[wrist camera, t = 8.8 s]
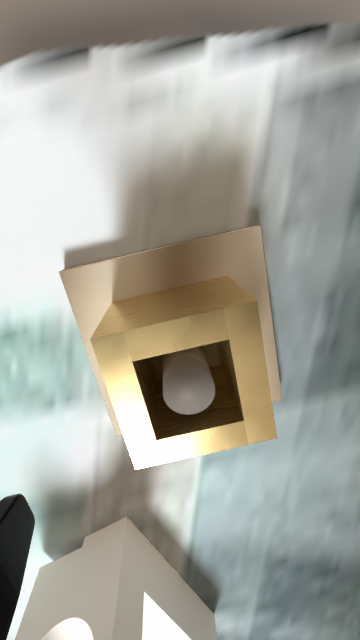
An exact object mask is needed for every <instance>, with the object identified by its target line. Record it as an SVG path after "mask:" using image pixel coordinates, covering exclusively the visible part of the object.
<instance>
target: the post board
mask: <svg viewBox="0 0 360 640" xmlns="http://www.w3.org/2000/svg"><path fill="white" fill-rule="evenodd" d="M59 273H60V276H61V279H62V282H63V285H64V287H65V290H66V293H67V296H68V299H69V302H70V305H71V308H72V310H73V313H74V316H75V319H76V322H77V325H78V328H79V331H80V333H81V336H82V339H83V342H84V345H85V348H86V351H87V354H88V356H89V359H90V362H91V365H92V368H93V371H94V374H95V377H96V379H97V382H98V385H99V388H100V391H101V394H102V397H103V399H104V402H105V405H106V408H107V411H108V414H109V417H110V420H111V422H112V425H113V428H114V431H115V434H116V437H117V436H121V435H123V434H122V431H121V428H120V425H119V422H118V419H117V416H116V413H115V410H114V408H113V405H112V402H111V399H110V396H109V393H108V390H107V387H106V384H105V382H104V379H103V376H102V373H101V370H100V367H99V364H98V361H97V358H96V355H95V353H94V350H93V347H92V344H91V341H90V338H91V336H92V335H93V333H94V331H95V330H96V328H97V326H98V325H99V323H100V321H101V320H102V318H103V316H104V315H105V313H106V311H107V309H108V308H109V306H110V304H111V303H112V302H115V301H119V300H123V299H128V298H132V297H136V296H141V295H145V294H149V293H154V292H158V291H162V290H167V289H171V288H175V287H179V286H184V285H188V284H192V283H197V282H201V281H205V280H210V279H214V278H218V277H223V276H227V275H228V276H229V277H230V278H231V279H232V280H234V281H235V282H236V283H237V284H238V285H239V286H241V287H242V288H243V289H244V290H245V291H246V292H248V293H249V294H250V295H251V296H252V297H254V298H255V299H256V300H257V303H258V310H259V317H260V324H261V331H262V338H263V345H264V352H265V358H266V365H267V372H268V379H269V386H270V393H271V400H272V402H275V401H280V400H282V395H281V387H280V379H279V371H278V363H277V355H276V347H275V339H274V331H273V323H272V314H271V306H270V298H269V290H268V282H267V274H266V266H265V258H264V250H263V242H262V234H261V226H256V225H255V226H251V227H247V228H242V229H238V230H234V231H229V232H225V233H220V234H216V235H212V236H207V237H203V238H198V239H194V240H190V241H185V242H181V243H177V244H172V245H168V246H163V247H159V248H155V249H150V250H146V251H142V252H137V253H133V254H128V255H124V256H120V257H115V258H111V259H106V260H102V261H98V262H93V263H89V264H85V265H80V266H76V267H71V268H67V269H63V270H61V271H60V272H59ZM152 360H153V364H154V367H155V371H156V374H157V378H162V377H163V398H164V401H165V402H166V404H167V405H168V407H169V408H170V409H172V410H173V411H175V412H177V413H180V414H186V415H190V414H196V413H199V412H201V411H203V410H205V409H206V408H207V407H208V406H209V405H210V404H211V403H212V401H213V399H214V396H215V385H214V382H213V379H212V376H211V373H210V370H209V367H210V366H215V365H219V364H221V362H220V357H219V352H218V347H217V342H216V343H211V344H207V345H203V346H198V347H194V348H189V349H185V350H181V351H176V352H172V353H168V354H163V355H159V356H154V357H152Z"/></svg>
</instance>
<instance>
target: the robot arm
mask: <svg viewBox="0 0 360 640" xmlns="http://www.w3.org/2000/svg"><path fill="white" fill-rule="evenodd" d="M34 525H35V519H34V515H33V513H32V511H31V509H30V507H29V505H28V503H27V501H26V499H25V497H24V496H23V495H22V494H16V495H11V496H7V497H5V498H3V499H2V500H1V501H0V640H6V638H7V635H8V632H9V629H10V625H11V622H12V619H13V615H14V612H15V609H16V605H17V602H18V598H19V594H20V590H21V586H22V582H23V577H24V572H25V568H26V563H27V558H28V554H29V549H30V544H31V539H32V535H33V530H34Z"/></svg>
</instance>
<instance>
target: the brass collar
mask: <svg viewBox="0 0 360 640" xmlns="http://www.w3.org/2000/svg"><path fill="white" fill-rule="evenodd" d="M90 341H91V344H92V347H93V350H94V353H95V355H96V358H97V361H98V364H99V367H100V370H101V373H102V376H103V379H104V382H105V384H106V387H107V390H108V393H109V396H110V399H111V402H112V405H113V408H114V410H115V413H116V416H117V419H118V422H119V425H120V428H121V431H122V434H123V436H124V439H125V442H126V445H127V448H128V451H129V454H130V457H131V460H132V462H133V465H134V468H135V470H137V469H141V468H146V467H150V466H155V465H159V464H164V463H168V462H173V461H177V460H182V459H186V458H191V457H195V456H200V455H204V454H209V453H213V452H217V451H222V450H226V449H231V448H235V447H240V446H244V445H249V444H253V443H258V442H262V441H267V440H271V439H276V438H277V435H276V428H275V421H274V414H273V407H272V400H271V393H270V386H269V379H268V372H267V365H266V358H265V352H264V345H263V338H262V331H261V324H260V317H259V310H258V303H257V300H256V299H255V298H254V297H252V296H251V295H250V294H249V293H248V292H246V291H245V290H244V289H243V288H242V287H241V286H239V285H238V284H237V283H236V282H235V281H234V280H232V279H231V278H230V277H229V276H228V275H227V276H223V277H218V278H214V279H210V280H205V281H201V282H197V283H192V284H188V285H184V286H179V287H175V288H171V289H167V290H162V291H158V292H154V293H149V294H145V295H141V296H136V297H132V298H128V299H123V300H119V301H115V302H112V303H111V304H110V306H109V308H108V309H107V311H106V313H105V315H104V316H103V318H102V320H101V321H100V323H99V325H98V326H97V328H96V330H95V331H94V333H93V335H92V336H91V338H90ZM216 342H217V347H218V352H219V357H220V362H221V364H219V365H215V366H210V367H209V370H210V373H211V376H212V379H213V382H214V385H215V396H214V399H213V401H212V403H211V404H210V405H209V406H208V407H207V408H206V409H205V410H203V411H201V412H199V413H196V414H190V415H186V414H180V413H177V412H175V411H173V410H172V409H170V408H169V407H168V405H167V404H166V402H165V401H164V398H163V377H162V378H157V374H156V371H155V367H154V364H153V360H152V357H154V356H159V355H163V354H168V353H172V352H176V351H181V350H185V349H189V348H194V347H198V346H203V345H207V344H211V343H216Z"/></svg>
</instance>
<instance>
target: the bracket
mask: <svg viewBox="0 0 360 640" xmlns="http://www.w3.org/2000/svg"><path fill="white" fill-rule="evenodd" d="M15 640H217V633H216V625H215V617H214V613H213V612H212V611H211V610H210V609H209V608H208V607H207V606H206V604H205V603H204V602H203V601H202V600H201V599H200V598H199V597H198V595H197V594H196V593H195V592H194V591H193V590H192V589H191V588H190V587H189V585H188V584H187V583H186V582H185V581H184V580H183V579H182V578H181V576H180V575H179V574H178V573H177V572H176V571H175V570H174V569H173V568H172V566H171V565H170V564H169V563H168V562H167V561H166V560H165V559H164V557H163V556H162V555H161V554H160V553H159V552H158V551H157V550H156V549H155V547H154V546H153V545H152V544H151V543H150V542H149V541H148V540H147V539H146V537H145V536H144V535H143V534H142V533H141V532H140V531H139V530H138V528H137V527H136V526H135V525H134V524H133V523H132V522H131V521H130V520H129V518H128V517H125V518H123V519H120V520H118V521H116V522H114V523H112V524H110V525H108V526H106V527H104V528H102V529H100V530H98V531H96V532H94V533H92V534H90V535H88V536H86V537H84V541H83V545H82V547H81V548H79V549H77V550H75V551H73V552H71V553H69V554H67V555H65V556H63V557H61V558H59V559H57V560H55V561H53V562H51V563H49V564H47V565H45V566H43V567H41V568H40V569H39V572H38V575H37V578H36V581H35V584H34V587H33V590H32V592H31V595H30V598H29V601H28V604H27V607H26V610H25V612H24V615H23V618H22V621H21V624H20V627H19V630H18V632H17V635H16V638H15Z"/></svg>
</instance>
